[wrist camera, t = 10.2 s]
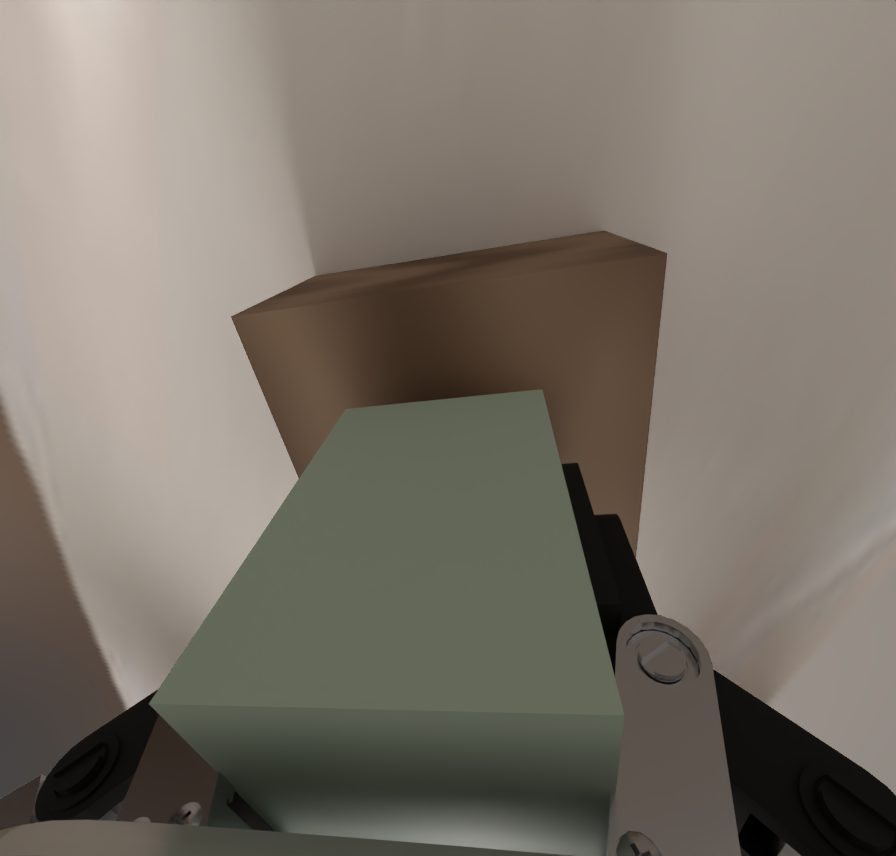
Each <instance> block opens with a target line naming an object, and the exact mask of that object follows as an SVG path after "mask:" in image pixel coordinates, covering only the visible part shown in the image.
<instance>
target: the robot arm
mask: <svg viewBox="0 0 896 856" xmlns="http://www.w3.org/2000/svg"><path fill="white" fill-rule="evenodd" d="M561 465H562V469H563V473H564V477H565V481H566V485H567V489H568V493H569V497H570V501H571V505H572V509H573V513H574V517H575V521H576V525H577V529H578V533H579V537H580V541H581V545H582V549H583V553H584V557H585V561H586V564H587V568H588V572H589V576H590V580H591V584H592V588H593V592H594V596H595V600H596V604H597V608H598V612H599V616H600V620H601V624H602V628H603V632H604V636H605V640H606V644H607V648H608V652H609V656H610V660H611V664H612V668H613V672H614V676H615V680H616V683H617V687H618V691H619V695H620V699H621V703H622V707H623V711H624V715H625V716H624V725H623V733H622V742H621V751H620V759H619V768H618V777H617V785H616V793H610V800H609V810H608V837H607V846H606V855H605V856H896V796H895V795H894V794H893V792H891V790H890V789H889V788H888V787H887V786H885V785H884V784H883V783H882V782H880V781H879V780H878V779H877V778H875V777H874V776H873V775H871V774H870V773H869V772H868V771H866V770H865V769H863V768H862V767H860V766H859V765H857V764H856V763H854V762H853V761H851V760H850V759H848V758H847V757H845V756H844V755H842V754H841V753H839V752H838V751H836V750H835V749H833V748H832V747H830V746H828V745H827V744H826V743H824V742H822V741H821V740H819V739H818V738H816V737H815V736H813V735H812V734H810V733H809V732H807V731H806V730H804V729H803V728H801V727H800V726H798V725H797V724H795V723H794V722H792V721H790V720H789V719H788V718H786V717H785V716H783V715H782V714H780V713H779V712H777V711H776V710H774V709H772V708H771V707H769V706H768V705H766V704H765V703H763V702H762V701H760V700H759V699H757V698H756V697H754V696H753V695H751V694H750V693H748V692H747V691H745V690H744V689H742V688H741V687H739V686H738V685H736V684H735V683H733V682H732V681H730V680H729V679H727V678H726V677H724V676H723V675H721V674H720V673H718V672H716V671H715V670H713V666H712V662H711V659H710V656H709V653H708V651H707V649H706V648H705V646H704V645H703V643H702V642H701V640H700V639H699V638H698V637H697V636H696V635H695V634H694V633H693V632H692V631H691V630H690V629H688V628H687V627H685V626H684V625H682V624H680V623H679V622H677V621H675V620H673V619H670V618H667V617H664V616H661V615H657V612H656V610H655V607H654V605H653V602H652V599H651V597H650V594H649V592H648V589H647V587H646V584H645V581H644V579H643V576H642V574H641V571H640V569H639V566H638V563H637V561H636V558H635V556H634V553H633V550H632V548H631V545H630V543H629V540H628V538H627V535H626V532H625V530H624V527H623V525H622V522H621V520H620V518H619V516H618V515H617V514H602V515H594V512H593V509H592V506H591V503H590V499H589V496H588V493H587V490H586V487H585V483H584V480H583V477H582V474H581V471H580V468H579V465H578V463H565V464H561ZM157 691H158V690H157ZM157 691H155V692H154V693H152V694H151V695H149V696H147V697H146V698H144V699H143V700H141V701H140V702H138V703H137V704H135V705H134V706H132V707H131V708H129V709H128V710H126V711H125V712H123V713H122V714H120V715H119V716H117V717H116V718H114V719H113V720H112V721H110V722H108V723H107V724H105V725H104V726H102V727H101V728H99V729H98V730H96V731H95V732H93V733H92V734H90V735H89V736H87V737H86V738H84V739H83V740H82V741H80V742H79V743H78V744H77V745H75V746H74V747H73V748H71V749H70V751H68V753H66V754H65V756H63V758H62V759H61V760H60V761H59V762H58V763H57V764H56V766H55V767H54V768H53V769H52V771H51V772H50V774H49V775H48V776H47V777H45V776H43V775H42V774H41V775H39V776H38V777H36V778H34V779H33V780H31V781H29V782H28V783H26V784H24V785H23V786H21V787H19V788H18V789H16V790H14V791H12V792H11V793H9V794H7V795H6V796H4V797H2V798H1V799H0V856H571V855H559V854H547V853H535V852H523V851H511V850H499V849H487V848H475V847H464V846H452V845H440V844H427V843H414V842H402V841H389V840H376V839H364V838H351V837H338V836H325V835H313V834H300V833H287V832H275V831H274V830H273V829H272V828H271V827H270V826H269V825H268V824H267V823H266V822H265V820H264V819H263V818H262V817H261V816H260V815H259V814H258V813H257V812H256V811H255V810H254V809H253V808H252V807H251V806H250V805H249V804H248V803H247V802H246V801H245V800H244V799H243V798H242V797H241V796H240V795H239V794H238V793H237V792H236V791H235V787H234V786H233V785H232V784H231V783H230V782H229V781H228V780H227V779H226V778H225V777H224V776H223V775H222V774H221V773H220V772H216V771H215V770H214V769H213V768H212V767H211V766H210V765H209V764H208V763H207V762H206V761H205V760H204V759H203V758H202V757H201V756H200V755H199V754H198V753H197V752H196V751H195V750H194V749H193V748H192V747H191V746H190V745H189V744H188V743H187V742H186V741H185V740H184V739H183V738H182V737H181V736H180V735H179V734H178V733H177V732H176V731H175V730H174V729H173V728H172V727H171V726H170V725H169V724H168V723H167V722H166V721H165V720H164V719H163V718H162V717H161V716H160V715H159V714H158V713H157V712H156V711H155V710H154V709H153V708H152V707H151V706H150V705H149V703H150V701H151V700H152V698H153V697H154V695H155V694H156V692H157Z"/></svg>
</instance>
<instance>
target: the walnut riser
mask: <svg viewBox="0 0 896 856" xmlns="http://www.w3.org/2000/svg"><path fill="white" fill-rule="evenodd" d="M666 260H667V253H665V252H662V251H659V250H656V249H654V248H651V247H648V246H645V245H642V244H640V243H637V242H634V241H631V240H628V239H626V238H623V237H620V236H617V235H615V234H612V233H609V232H606V231H599V232H593V233H587V234H580V235H574V236H568V237H561V238H555V239H549V240H542V241H536V242H530V243H523V244H517V245H511V246H504V247H498V248H491V249H485V250H479V251H472V252H466V253H460V254H453V255H447V256H441V257H434V258H428V259H422V260H415V261H409V262H402V263H396V264H390V265H383V266H377V267H371V268H364V269H358V270H352V271H345V272H339V273H333V274H326V275H320V276H314V277H312V278H310V279H308V280H306V281H304V282H302V283H300V284H298V285H296V286H294V287H292V288H290V289H288V290H286V291H283V292H281V293H279V294H277V295H275V296H273V297H271V298H269V299H267V300H265V301H263V302H261V303H259V304H257V305H254V306H252V307H250V308H248V309H246V310H244V311H242V312H240V313H238V314H236V315H234V316H232V317H231V318H232V320H233V323H234V325H235V327H236V330H237V332H238V334H239V337H240V339H241V342H242V344H243V346H244V349H245V351H246V354H247V356H248V358H249V361H250V363H251V365H252V368H253V370H254V373H255V375H256V377H257V380H258V382H259V384H260V387H261V389H262V392H263V394H264V396H265V399H266V401H267V404H268V406H269V408H270V411H271V413H272V415H273V418H274V420H275V423H276V425H277V427H278V430H279V432H280V434H281V437H282V439H283V442H284V444H285V446H286V449H287V451H288V454H289V456H290V458H291V461H292V463H293V465H294V468H295V470H296V473H297V475H298V477H299V478H300V477H301V475H302V474H303V472H304V471H305V469H306V468H307V466H308V465H309V463H310V462H311V460H312V459H313V457H314V456H315V454H316V453H317V451H318V450H319V448H320V447H321V445H322V444H323V442H324V441H325V439H326V438H327V436H328V435H329V433H330V432H331V430H332V429H333V427H334V426H335V424H336V423H337V421H338V420H339V418H340V417H341V415H342V414H343V412H344V411H345V409H351V408H361V407H371V406H381V405H391V404H401V403H410V402H420V401H430V400H440V399H450V398H460V397H470V396H480V395H490V394H500V393H510V392H519V391H529V390H539V389H542V390H543V394H544V398H545V402H546V406H547V410H548V414H549V418H550V422H551V426H552V430H553V434H554V438H555V442H556V445H557V449H558V453H559V457H560V461H561V464H565V463H578V465H579V468H580V471H581V474H582V477H583V480H584V483H585V487H586V490H587V493H588V496H589V499H590V503H591V506H592V509H593V512H594V515H602V514H617V515H618V516H619V518H620V520H621V522H622V525H623V527H624V530H625V532H626V535H627V538H628V540H629V543H630V545H631V548H632V550H633V553H634V556H635V558H636V550H637V540H638V531H639V521H640V511H641V502H642V492H643V482H644V473H645V463H646V453H647V443H648V434H649V424H650V414H651V405H652V395H653V385H654V376H655V366H656V356H657V347H658V337H659V327H660V318H661V308H662V298H663V289H664V279H665V269H666Z"/></svg>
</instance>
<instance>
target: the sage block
mask: <svg viewBox="0 0 896 856" xmlns="http://www.w3.org/2000/svg"><path fill="white" fill-rule="evenodd" d="M149 705H150V706H151V707H152V708H153V709H154V710H155V711H156V712H157V713H158V714H159V715H160V716H161V717H162V718H163V719H164V720H165V721H166V722H167V723H168V724H169V725H170V726H171V727H172V728H173V729H174V730H175V731H176V732H177V733H178V734H179V735H180V736H181V737H182V738H183V739H184V740H185V741H186V742H187V743H188V744H189V745H190V746H191V747H192V748H193V749H194V750H195V751H196V752H197V753H198V754H199V755H200V756H201V757H202V758H203V759H204V760H205V761H206V762H207V763H208V764H209V765H210V766H211V767H212V768H213V769H214V770H215V771H216V772H220V773H221V774H222V775H223V776H224V777H225V778H226V779H227V780H228V781H229V782H230V783H231V784H232V785H233V786H234V787H235V791H236V792H237V793H238V794H239V795H240V796H241V797H242V798H243V799H244V800H245V801H246V802H247V803H248V804H249V805H250V806H251V807H252V808H253V809H254V810H255V811H256V812H257V813H258V814H259V815H260V816H261V817H262V818H263V819H264V820H265V822H266V823H267V824H268V825H269V826H270V827H271V828H272V829H273V830H274V831H275V832H287V833H300V834H313V835H325V836H338V837H351V838H364V839H376V840H389V841H402V842H414V843H427V844H440V845H452V846H464V847H475V848H487V849H499V850H511V851H523V852H535V853H547V854H559V855H571V856H605V855H606V846H607V837H608V810H609V800H610V793H616V785H617V777H618V768H619V759H620V751H621V742H622V733H623V725H624V716H625V715H624V711H623V707H622V703H621V699H620V695H619V691H618V687H617V683H616V680H615V676H614V672H613V668H612V664H611V660H610V656H609V652H608V648H607V644H606V640H605V636H604V632H603V628H602V624H601V620H600V616H599V612H598V608H597V604H596V600H595V596H594V592H593V588H592V584H591V580H590V576H589V572H588V568H587V564H586V561H585V557H584V553H583V549H582V545H581V541H580V537H579V533H578V529H577V525H576V521H575V517H574V513H573V509H572V505H571V501H570V497H569V493H568V489H567V485H566V481H565V477H564V473H563V469H562V465H561V461H560V457H559V453H558V449H557V445H556V442H555V438H554V434H553V430H552V426H551V422H550V418H549V414H548V410H547V406H546V402H545V398H544V394H543V390H542V389H539V390H529V391H519V392H510V393H500V394H490V395H480V396H470V397H460V398H450V399H440V400H430V401H420V402H410V403H401V404H391V405H381V406H371V407H361V408H351V409H345V411H344V412H343V414H342V415H341V417H340V418H339V420H338V421H337V423H336V424H335V426H334V427H333V429H332V430H331V432H330V433H329V435H328V436H327V438H326V439H325V441H324V442H323V444H322V445H321V447H320V448H319V450H318V451H317V453H316V454H315V456H314V457H313V459H312V460H311V462H310V463H309V465H308V466H307V468H306V469H305V471H304V472H303V474H302V475H301V477H300V478H299V480H298V481H297V483H296V484H295V486H294V487H293V489H292V490H291V492H290V493H289V495H288V496H287V498H286V499H285V501H284V502H283V504H282V505H281V507H280V508H279V510H278V511H277V513H276V514H275V516H274V517H273V519H272V520H271V522H270V523H269V525H268V526H267V528H266V529H265V531H264V532H263V534H262V535H261V537H260V538H259V540H258V541H257V543H256V544H255V545H254V547H253V548H252V550H251V551H250V553H249V554H248V556H247V557H246V559H245V560H244V562H243V563H242V565H241V566H240V568H239V569H238V571H237V572H236V574H235V575H234V577H233V578H232V580H231V581H230V583H229V584H228V586H227V587H226V589H225V590H224V592H223V593H222V595H221V596H220V598H219V599H218V601H217V602H216V604H215V605H214V607H213V608H212V610H211V611H210V613H209V614H208V616H207V617H206V619H205V620H204V622H203V623H202V625H201V626H200V628H199V629H198V631H197V632H196V634H195V635H194V637H193V638H192V640H191V641H190V643H189V644H188V646H187V647H186V649H185V650H184V652H183V653H182V655H181V656H180V658H179V659H178V661H177V662H176V664H175V665H174V667H173V668H172V670H171V671H170V673H169V674H168V676H167V677H166V679H165V680H164V682H163V683H162V685H161V686H160V688H159V689H158V691H157V692H156V694H155V695H154V697H153V698H152V700H151V701H150V703H149Z"/></svg>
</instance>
